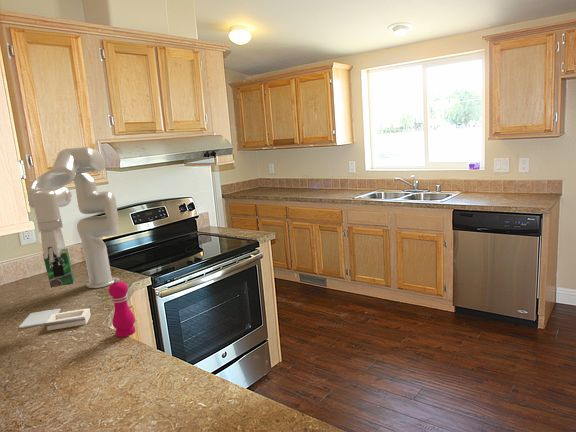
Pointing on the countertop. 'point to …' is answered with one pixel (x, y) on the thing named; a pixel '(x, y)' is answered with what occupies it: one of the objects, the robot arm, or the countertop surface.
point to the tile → (38, 318)
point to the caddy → (68, 319)
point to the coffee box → (67, 270)
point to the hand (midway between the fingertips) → (60, 273)
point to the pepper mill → (121, 309)
